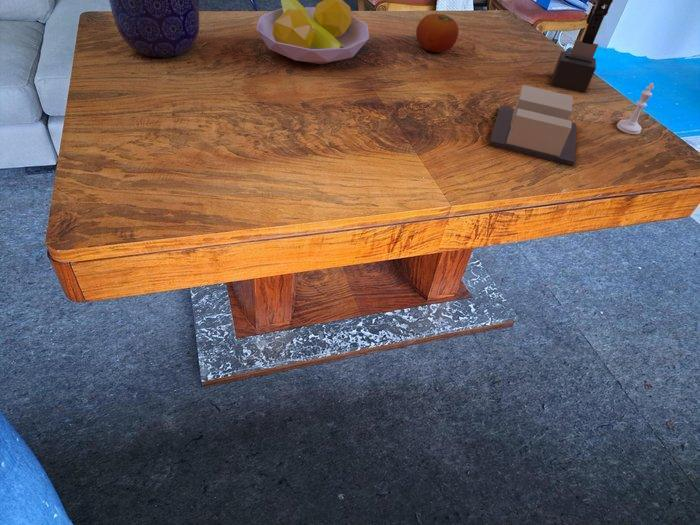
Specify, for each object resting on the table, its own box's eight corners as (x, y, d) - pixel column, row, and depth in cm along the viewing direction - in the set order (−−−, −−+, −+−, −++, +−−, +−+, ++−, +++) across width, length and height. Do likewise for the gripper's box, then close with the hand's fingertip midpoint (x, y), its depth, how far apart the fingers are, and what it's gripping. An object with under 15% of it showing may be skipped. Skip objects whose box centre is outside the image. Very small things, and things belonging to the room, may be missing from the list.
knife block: (585, 82, 124) (595, 58, 119) (585, 92, 119) (596, 67, 115) (552, 75, 125) (561, 51, 121) (550, 85, 121) (560, 60, 117)
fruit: (405, 43, 132) (411, 11, 126) (437, 39, 136) (444, 7, 130) (430, 60, 125) (436, 26, 120) (462, 54, 129) (470, 22, 124)
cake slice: (559, 148, 98) (571, 120, 94) (559, 156, 96) (571, 128, 92) (508, 136, 100) (517, 108, 95) (506, 143, 97) (516, 115, 93)
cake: (561, 123, 105) (572, 95, 101) (560, 139, 101) (572, 111, 96) (513, 111, 107) (522, 84, 103) (509, 126, 102) (519, 99, 98)
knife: (580, 85, 122) (612, 10, 111) (580, 88, 121) (612, 13, 109) (559, 80, 123) (588, 5, 111) (559, 83, 122) (588, 8, 110)
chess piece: (645, 133, 108) (670, 88, 101) (627, 135, 106) (651, 90, 99) (629, 121, 111) (652, 77, 104) (611, 123, 109) (633, 79, 102)
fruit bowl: (384, 71, 118) (391, 20, 110) (269, 79, 110) (268, 25, 102) (345, 26, 137) (349, -21, 129) (244, 30, 129) (241, -19, 121)
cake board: (574, 127, 107) (576, 123, 106) (572, 166, 96) (574, 161, 95) (499, 109, 110) (500, 105, 109) (488, 145, 98) (490, 140, 98)
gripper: (648, -48, 96) (608, 43, 108) (643, -63, 106) (607, 21, 118) (607, -55, 97) (572, 35, 109) (605, -69, 107) (574, 15, 119)
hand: (590, 28), depth 113 cm, fingers open, 5 cm apart
